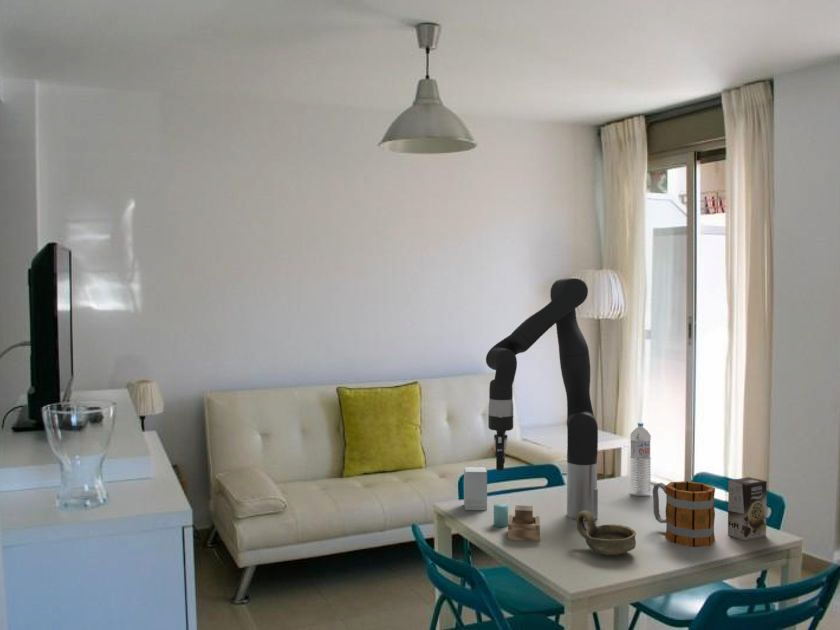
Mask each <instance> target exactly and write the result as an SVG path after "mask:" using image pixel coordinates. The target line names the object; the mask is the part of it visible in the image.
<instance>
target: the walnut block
mask: <svg viewBox="0 0 840 630" xmlns="http://www.w3.org/2000/svg"><path fill="white" fill-rule="evenodd" d="M533 507H534V505H515V508H514V509H515V510H514V515H515V523H517V524H533V516H534V514H533V513H534V511H533V510H534V508H533Z"/></svg>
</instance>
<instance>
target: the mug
mask: <svg viewBox="0 0 840 630" xmlns="http://www.w3.org/2000/svg"><path fill="white" fill-rule="evenodd" d="M659 487H660V488H661V489H662V491H663V492H664V493H665V495H666V496H665V497H666V501H665V502H666V503H665V518H662V517H661V514H660V499H659ZM715 492H716V488H715V487H713V486H711V485H709V484H707V483H703V482H694V481H689V480H688V481H687V480H684V481H683V480H682V481H670V482H668V483H667V484H664V482H659V483H655V484H654V485H653V488H652V500H653V501H652V505H653V506H652V507H653V516H654V518H655V520H656V521H657V522H658V523H660V524H666V526H665V527H666V531H665V535H664V536H665V537H664V538H665V539H667V540H668V541H670V542H671V543H673V544H675V545H681V546H687V547H690V548H691V547H692V548H698V547H710V546H712V545H713V544H714V543H715V541H716V537H715V518H716V511H715Z"/></svg>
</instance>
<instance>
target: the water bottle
mask: <svg viewBox="0 0 840 630" xmlns="http://www.w3.org/2000/svg"><path fill="white" fill-rule="evenodd" d="M651 437H652V436H651V433H650V432H649V431H648V430H647V429H646V428H645V427H644V423H643V422H637V427H636V428H635V429H633V430H632V431H631V432H630V457H629V458H630V459H629V461H630V465H629V466H630V468H629V470H630V471H629V472H630V474H629V477H630V478H629V485H630V486H629V492H630V494H631V495H632V496H635V497H649V496H651V487H652V486H651V484H652V483H651V478H652V477H651V473H652V472H651V470H652V469H651V468H652V467H651V466H652V465H651V459H652V458H651V440H652V438H651Z"/></svg>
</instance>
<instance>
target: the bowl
mask: <svg viewBox="0 0 840 630" xmlns="http://www.w3.org/2000/svg"><path fill="white" fill-rule="evenodd" d="M584 517H585V518H586V520H585V521H587V528H586V526H585V522H584V520H583V518H584ZM575 525H576V528H577V530H578V532H579V534H580V535H581V536H582V537H583V538H584V539H585V542H586V544H587V546H588V547H589V548H590V550H592V551H593V552H595V553H597V554H600V555H604V556H619V555H621V554H624V553H626V552H630V551H632V550H634V549H635V548H636V545H637V541H636V534H637V532H636V531H635V530H634V529H633V528H631V527H630V526H627V525H622V524H616V523H615V524H614V523H611V524H601V525H596V522H595V519H594V518H593V516H592V514H591V513H590V512H589V511H586V510H585V511H581V512H579V513H578V514H577V516H576V519H575Z"/></svg>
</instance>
